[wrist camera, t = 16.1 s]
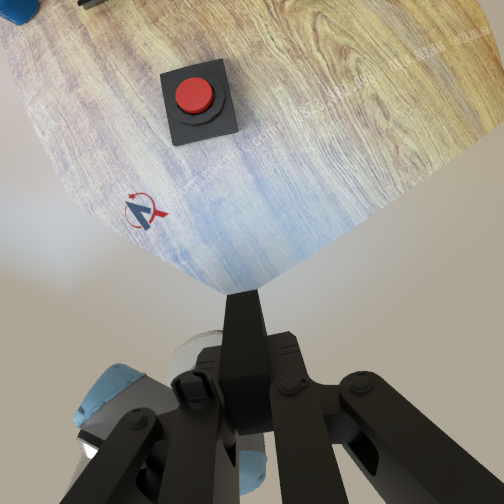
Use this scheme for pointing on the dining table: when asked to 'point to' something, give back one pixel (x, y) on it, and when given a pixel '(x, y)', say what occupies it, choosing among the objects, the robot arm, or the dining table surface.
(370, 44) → the dining table surface
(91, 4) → the metal lever stand
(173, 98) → the button box
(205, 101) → the button
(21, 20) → the beverage can
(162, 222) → the dining table surface
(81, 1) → the lever handle
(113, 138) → the dining table surface
